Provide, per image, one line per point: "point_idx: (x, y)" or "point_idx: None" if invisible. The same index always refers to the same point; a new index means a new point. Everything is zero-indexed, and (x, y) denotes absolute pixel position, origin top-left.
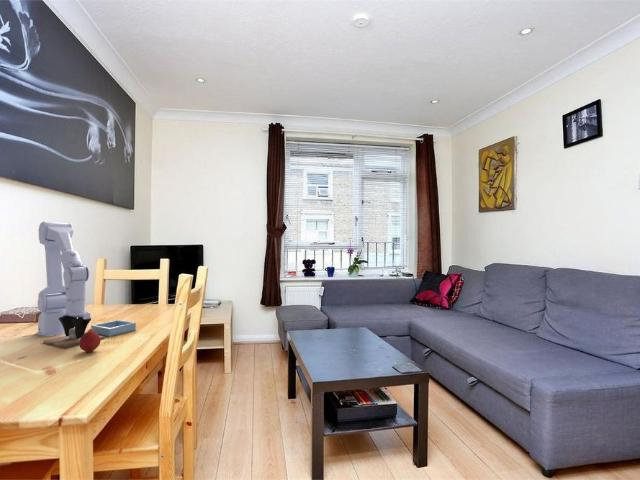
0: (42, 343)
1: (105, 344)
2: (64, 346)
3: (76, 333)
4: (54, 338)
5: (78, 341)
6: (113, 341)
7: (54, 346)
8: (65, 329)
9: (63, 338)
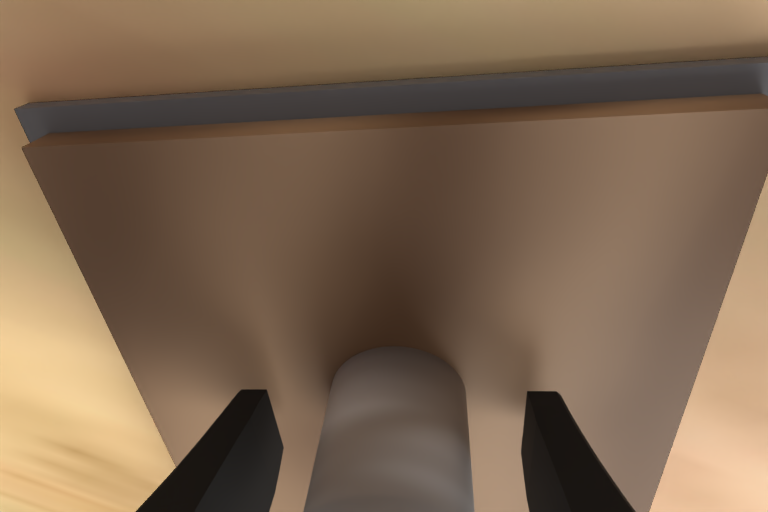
0: (751, 68)
1: (19, 434)
2: (62, 142)
3: (194, 453)
4: (717, 284)
5: (185, 352)
6: (91, 501)
7: (316, 92)
8: (560, 494)
9: (559, 342)
